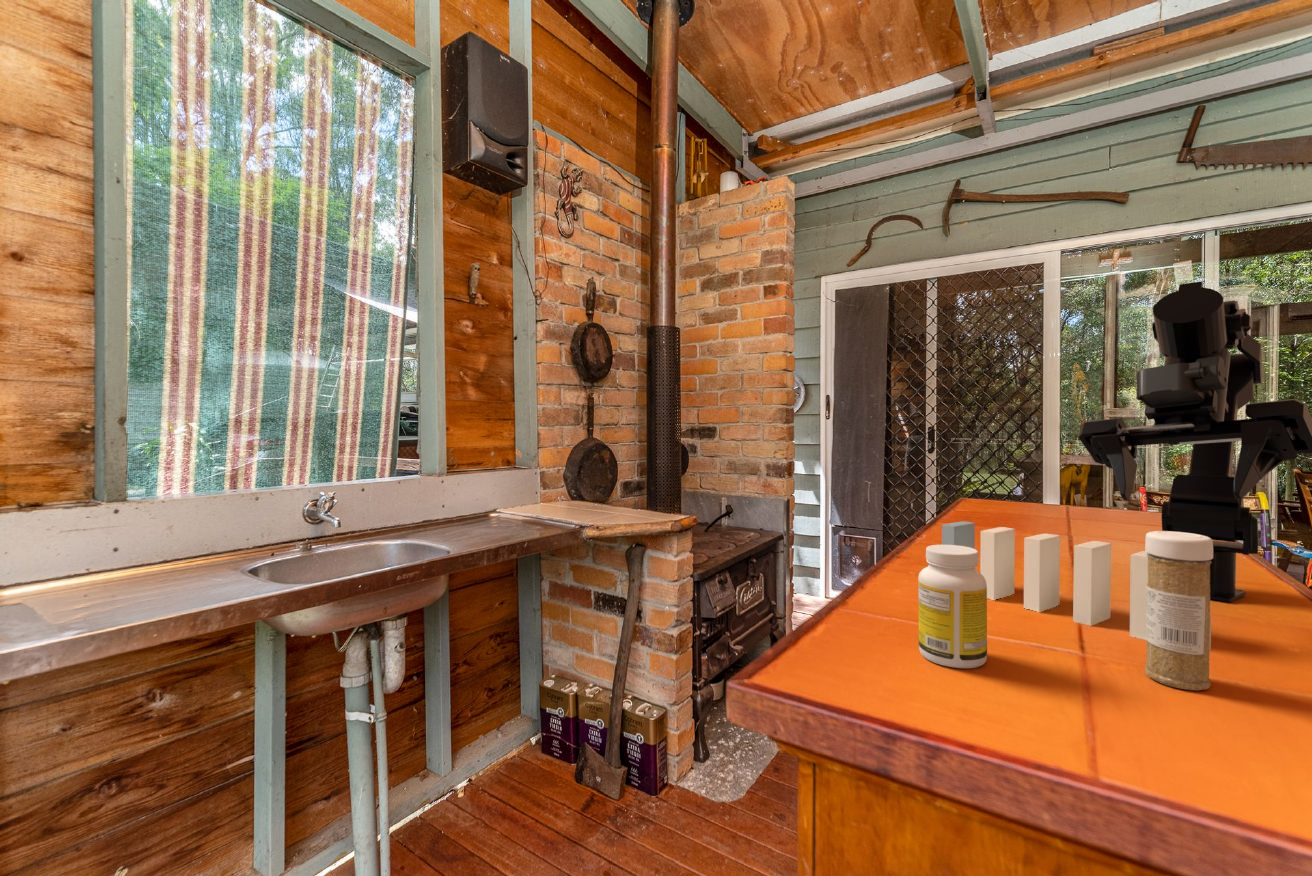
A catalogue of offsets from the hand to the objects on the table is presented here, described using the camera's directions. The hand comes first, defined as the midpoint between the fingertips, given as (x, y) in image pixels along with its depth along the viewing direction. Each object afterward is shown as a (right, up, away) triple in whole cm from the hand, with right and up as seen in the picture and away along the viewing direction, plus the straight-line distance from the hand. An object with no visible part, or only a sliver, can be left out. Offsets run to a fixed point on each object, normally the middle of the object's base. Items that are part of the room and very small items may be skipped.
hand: (1177, 497), depth 61 cm
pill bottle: (-25, -16, -2) cm, 30 cm away
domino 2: (-9, -15, +17) cm, 25 cm away
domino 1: (-12, -15, +22) cm, 29 cm away
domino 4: (-3, -15, +8) cm, 17 cm away
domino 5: (0, -15, +3) cm, 16 cm away
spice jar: (-7, -16, -8) cm, 19 cm away
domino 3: (-6, -15, +13) cm, 21 cm away
